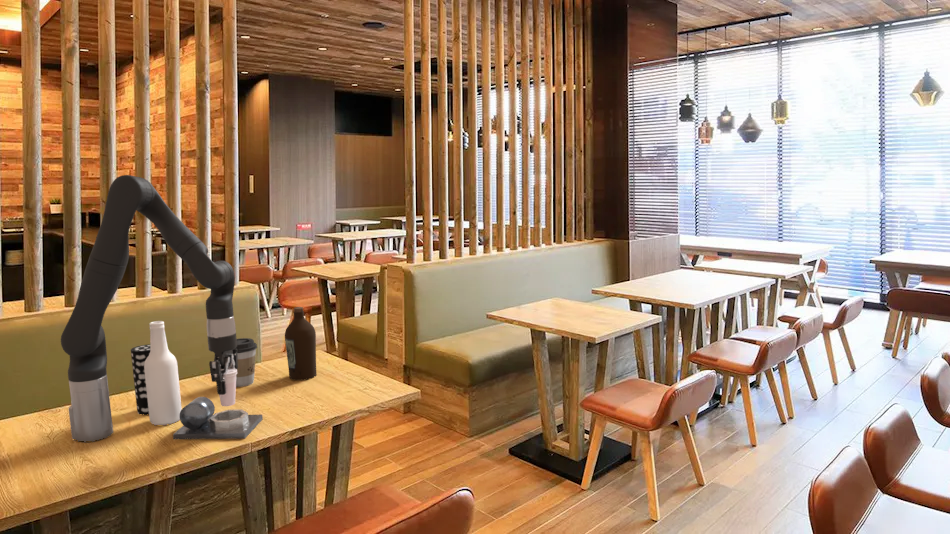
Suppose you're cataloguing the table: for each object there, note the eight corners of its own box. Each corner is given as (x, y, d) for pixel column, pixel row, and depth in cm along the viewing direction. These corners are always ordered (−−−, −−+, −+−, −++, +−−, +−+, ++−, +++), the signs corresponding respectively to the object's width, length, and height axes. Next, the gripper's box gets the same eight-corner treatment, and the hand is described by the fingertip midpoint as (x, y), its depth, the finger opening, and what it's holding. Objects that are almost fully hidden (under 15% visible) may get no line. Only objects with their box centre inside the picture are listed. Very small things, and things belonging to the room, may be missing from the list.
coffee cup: (253, 388, 224) (250, 345, 222) (220, 389, 224) (216, 346, 222) (264, 377, 235) (261, 336, 233) (232, 378, 235) (229, 337, 233)
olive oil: (311, 369, 243) (307, 303, 240) (322, 376, 235) (318, 307, 231) (283, 375, 237) (278, 307, 234) (293, 383, 229) (289, 312, 225)
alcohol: (159, 415, 201) (149, 319, 197) (187, 415, 201) (178, 318, 196) (144, 426, 192) (133, 326, 188) (173, 426, 192) (163, 325, 188)
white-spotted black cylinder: (171, 409, 206) (165, 347, 203) (143, 417, 200) (136, 353, 197) (160, 403, 212) (154, 342, 209) (133, 410, 206) (126, 348, 203)
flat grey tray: (173, 439, 182) (170, 409, 181) (196, 420, 196) (193, 392, 195) (244, 438, 182) (242, 408, 180) (262, 419, 195) (260, 391, 194)
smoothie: (232, 408, 184) (227, 360, 182) (211, 407, 185) (206, 359, 183) (244, 400, 190) (240, 353, 188) (224, 399, 192) (220, 352, 189)
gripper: (219, 326, 192) (223, 382, 194) (197, 339, 178) (202, 399, 180) (244, 326, 192) (249, 381, 194) (224, 339, 178) (229, 398, 180)
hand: (226, 390), depth 187 cm, fingers closed on smoothie, 6 cm apart
